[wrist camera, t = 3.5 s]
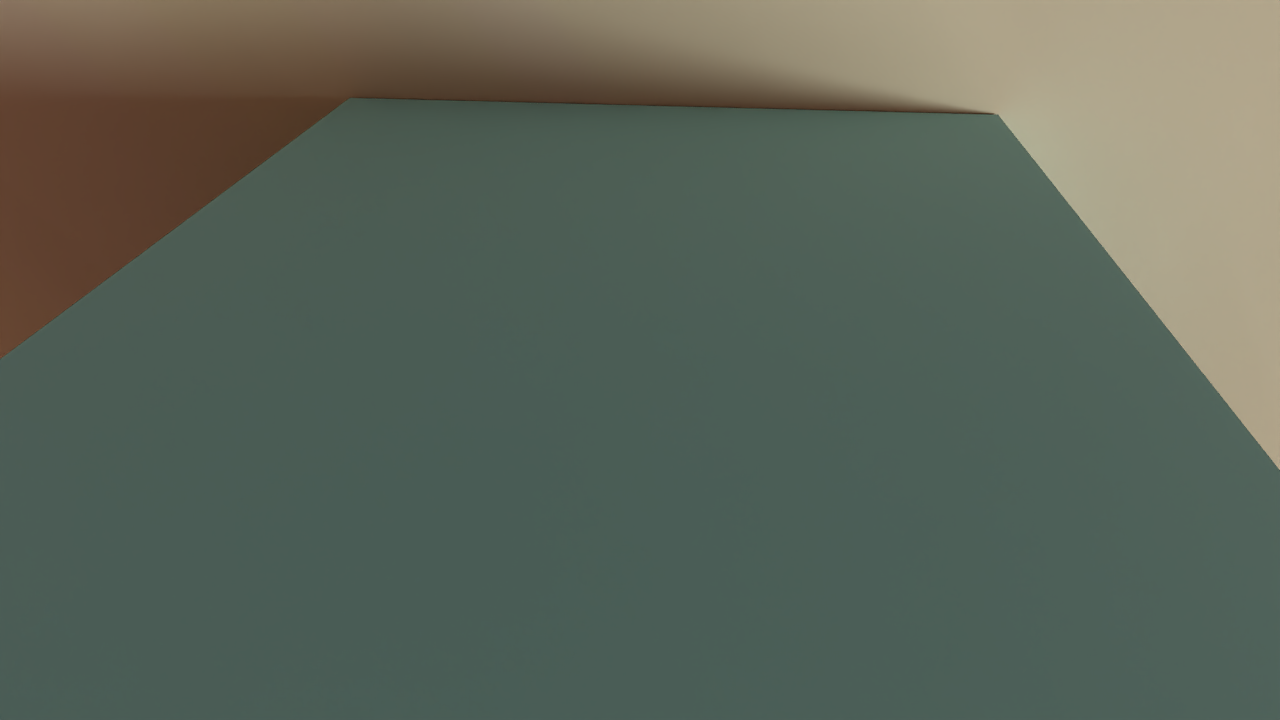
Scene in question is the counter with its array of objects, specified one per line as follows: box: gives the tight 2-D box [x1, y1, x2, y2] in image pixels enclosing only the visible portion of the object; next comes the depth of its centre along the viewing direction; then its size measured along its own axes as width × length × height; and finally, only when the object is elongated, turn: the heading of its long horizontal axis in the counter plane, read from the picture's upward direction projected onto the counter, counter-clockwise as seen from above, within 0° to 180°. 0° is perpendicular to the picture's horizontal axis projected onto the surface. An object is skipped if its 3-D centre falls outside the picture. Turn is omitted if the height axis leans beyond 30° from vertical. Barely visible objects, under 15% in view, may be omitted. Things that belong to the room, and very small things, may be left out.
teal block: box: [0, 98, 1280, 720], centre depth 6 cm, size 6×6×6 cm
